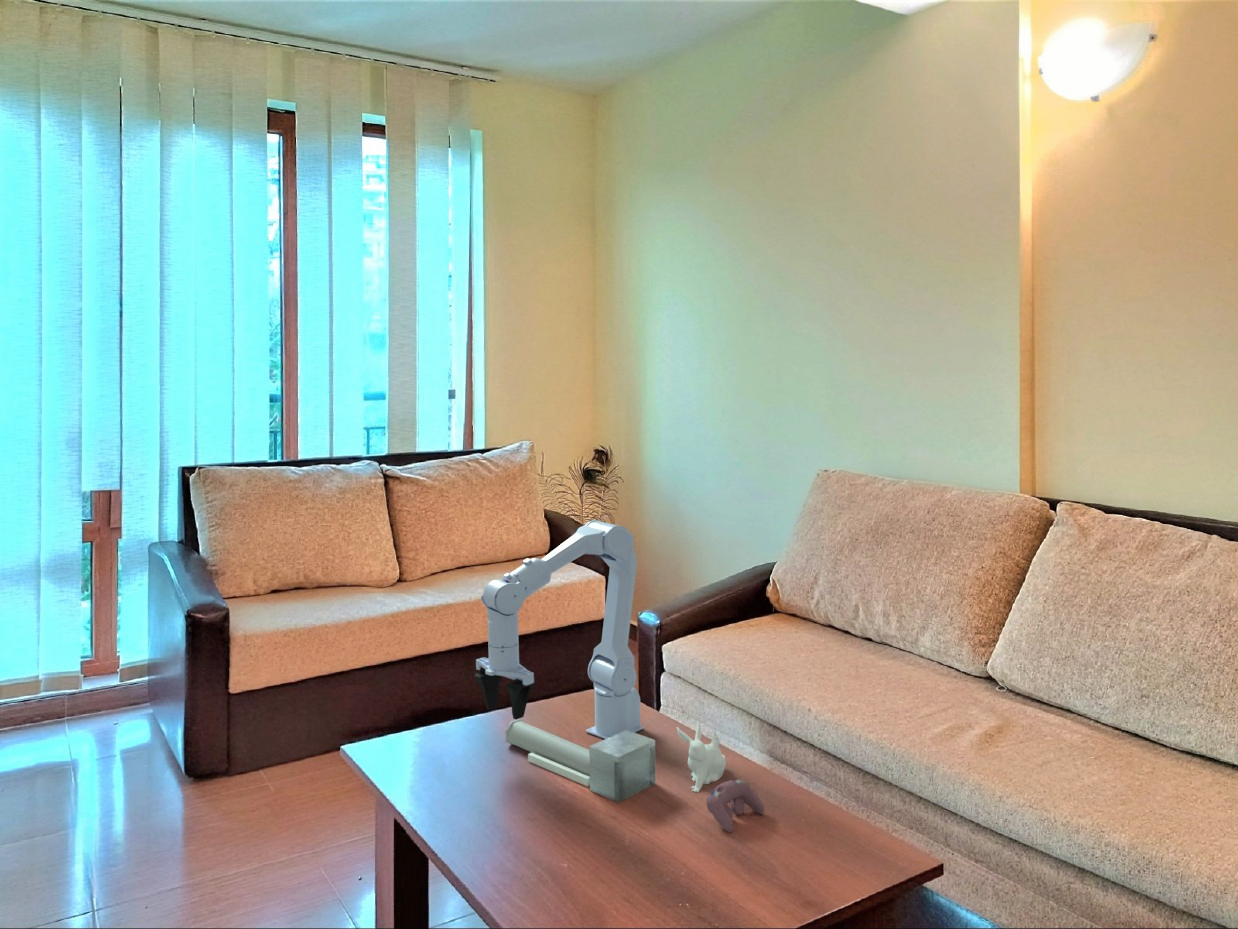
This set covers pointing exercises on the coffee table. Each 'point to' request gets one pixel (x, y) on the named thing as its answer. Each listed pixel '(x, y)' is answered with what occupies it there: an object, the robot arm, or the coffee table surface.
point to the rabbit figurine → (704, 758)
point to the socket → (622, 765)
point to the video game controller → (732, 802)
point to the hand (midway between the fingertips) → (505, 713)
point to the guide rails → (559, 769)
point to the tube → (548, 746)
